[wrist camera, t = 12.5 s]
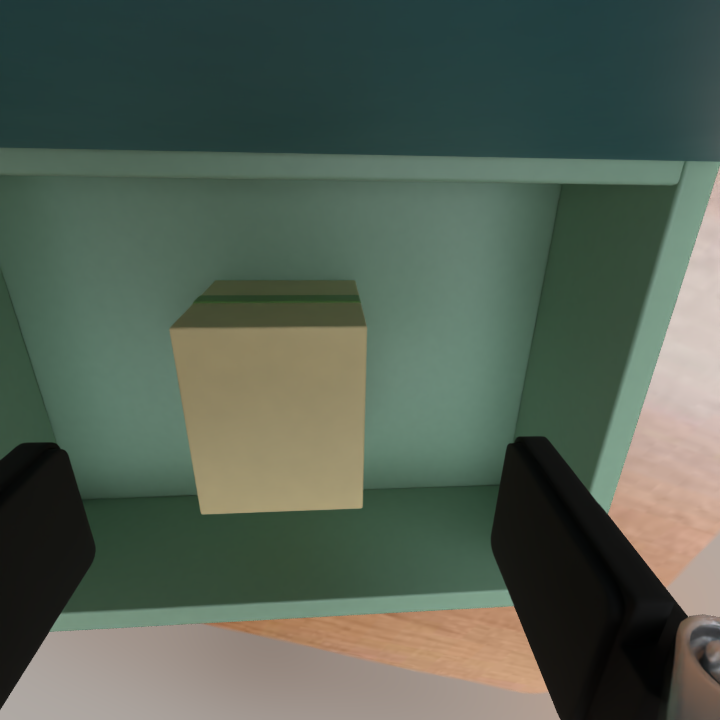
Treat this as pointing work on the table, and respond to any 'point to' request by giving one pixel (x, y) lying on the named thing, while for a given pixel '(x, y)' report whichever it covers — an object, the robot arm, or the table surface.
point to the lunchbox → (383, 362)
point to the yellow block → (274, 394)
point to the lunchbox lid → (365, 77)
